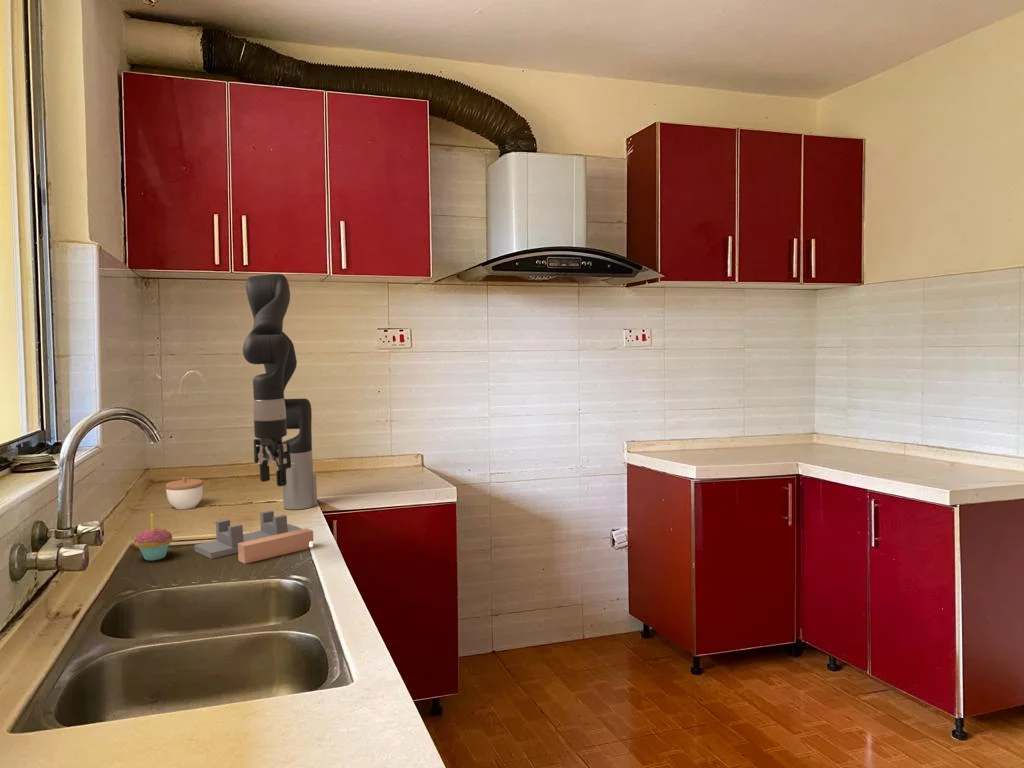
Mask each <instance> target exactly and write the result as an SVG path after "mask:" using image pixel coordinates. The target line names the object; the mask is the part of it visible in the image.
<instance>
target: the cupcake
mask: <svg viewBox="0 0 1024 768" xmlns="http://www.w3.org/2000/svg"><path fill="white" fill-rule="evenodd" d="M154 518H155V514H154V513H153V511H151V513H150V526H151V528H148V529H145V530H143V531H141V532H139V534H137V535H136V537H135V538H133V540H134V541H133V542H134V544H133V545H134V547H137V548H139V550H140V552H141V554H142V556H143V559H144V560H145V561H157V560H162V559H164V558H166V556H167V552H168V549H169V546H170V543H172V542H173V536H172V535H173V534H172V533H171V532H170V531H168V530H167V529H164V528H158V527H155V519H154Z"/></svg>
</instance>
